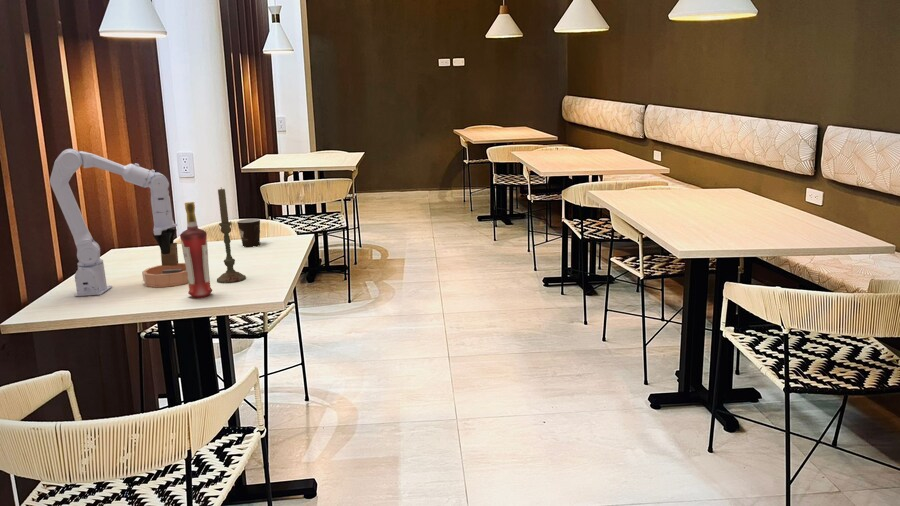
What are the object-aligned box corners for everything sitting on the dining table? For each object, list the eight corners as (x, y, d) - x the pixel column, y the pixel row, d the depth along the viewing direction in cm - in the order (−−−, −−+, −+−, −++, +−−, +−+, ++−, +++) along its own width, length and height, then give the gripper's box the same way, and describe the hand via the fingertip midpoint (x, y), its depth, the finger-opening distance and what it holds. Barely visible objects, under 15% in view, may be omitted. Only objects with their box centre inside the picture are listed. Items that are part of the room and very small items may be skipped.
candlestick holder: (216, 284, 229) (205, 189, 222) (217, 277, 237) (206, 186, 231) (246, 281, 231) (236, 187, 225) (246, 274, 240) (236, 184, 233)
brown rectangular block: (176, 265, 234) (174, 244, 232) (161, 265, 234) (160, 244, 232) (178, 263, 236) (176, 242, 235) (164, 263, 236) (162, 242, 234)
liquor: (186, 294, 218) (175, 202, 212) (212, 291, 221) (201, 200, 215) (188, 300, 212) (176, 205, 206) (215, 296, 215) (203, 203, 209)
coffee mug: (239, 244, 290) (237, 219, 288) (261, 242, 292) (259, 217, 290) (240, 250, 279) (237, 224, 277) (263, 247, 282) (261, 222, 279)
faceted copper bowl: (189, 285, 229) (187, 273, 228) (137, 288, 228) (135, 276, 227) (202, 273, 244) (201, 261, 243) (154, 276, 243) (152, 264, 243)
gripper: (167, 214, 224) (173, 257, 227) (181, 207, 238) (186, 247, 241) (144, 215, 224) (150, 258, 227) (159, 208, 238) (164, 248, 241)
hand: (167, 252), depth 234 cm, fingers closed on brown rectangular block, 2 cm apart
